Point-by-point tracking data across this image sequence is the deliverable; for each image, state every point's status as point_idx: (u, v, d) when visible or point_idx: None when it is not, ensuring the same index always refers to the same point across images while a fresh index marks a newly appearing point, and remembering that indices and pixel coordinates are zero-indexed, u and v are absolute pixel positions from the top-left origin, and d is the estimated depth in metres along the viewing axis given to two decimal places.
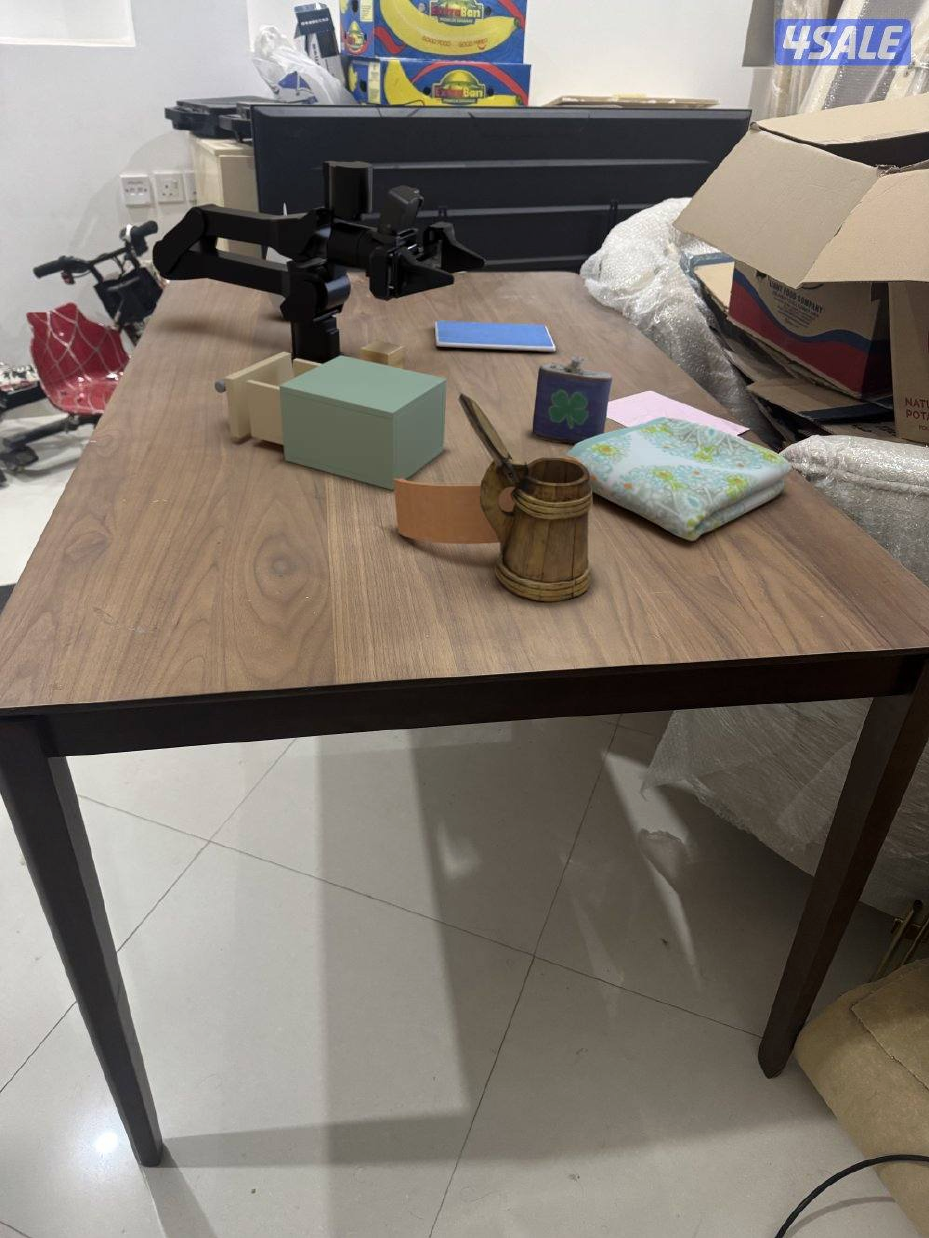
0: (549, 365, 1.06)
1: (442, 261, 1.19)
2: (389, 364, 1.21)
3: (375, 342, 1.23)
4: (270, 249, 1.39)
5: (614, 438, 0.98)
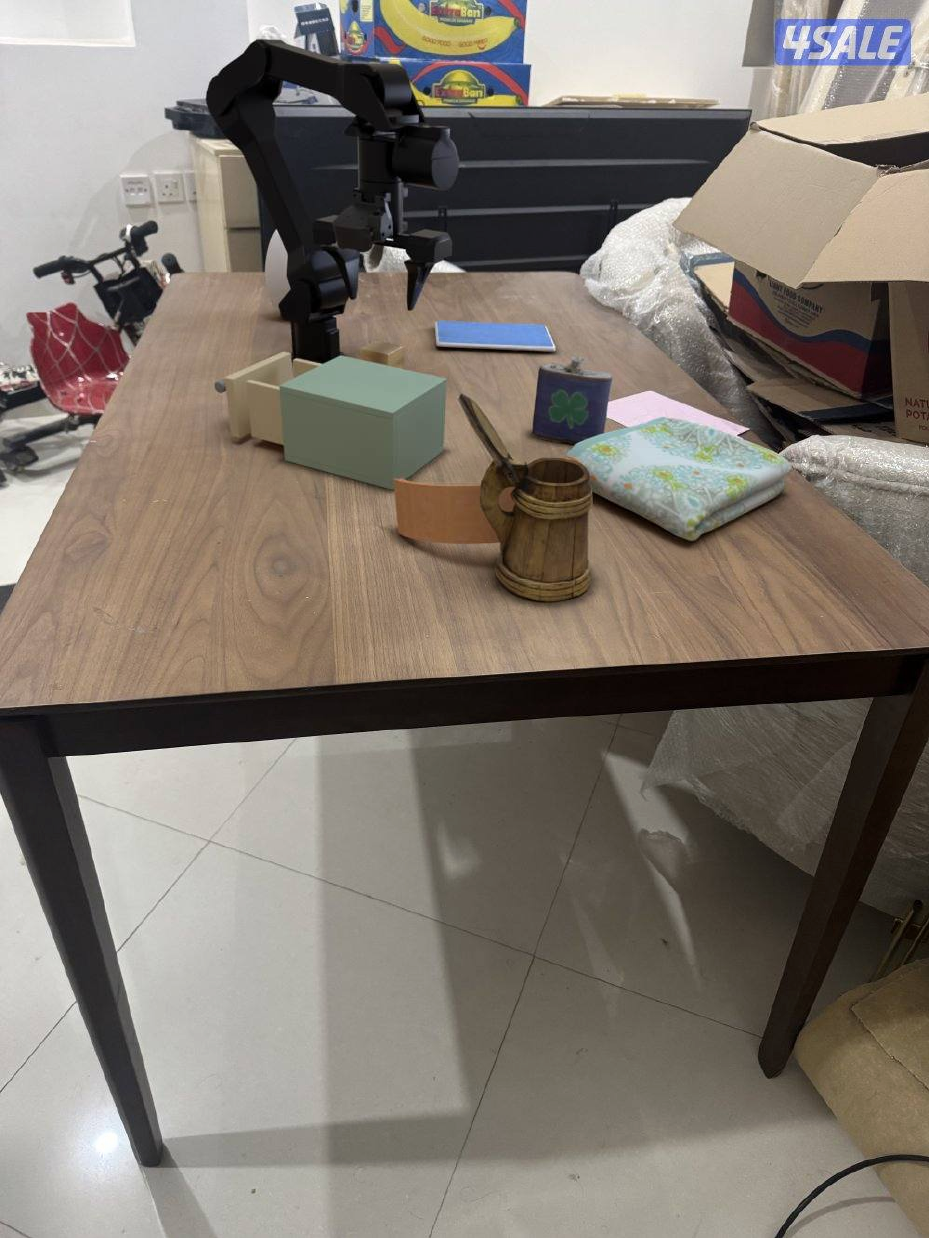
0: (549, 365, 1.06)
1: None
2: (389, 364, 1.21)
3: (375, 342, 1.23)
4: (270, 249, 1.39)
5: (614, 438, 0.98)
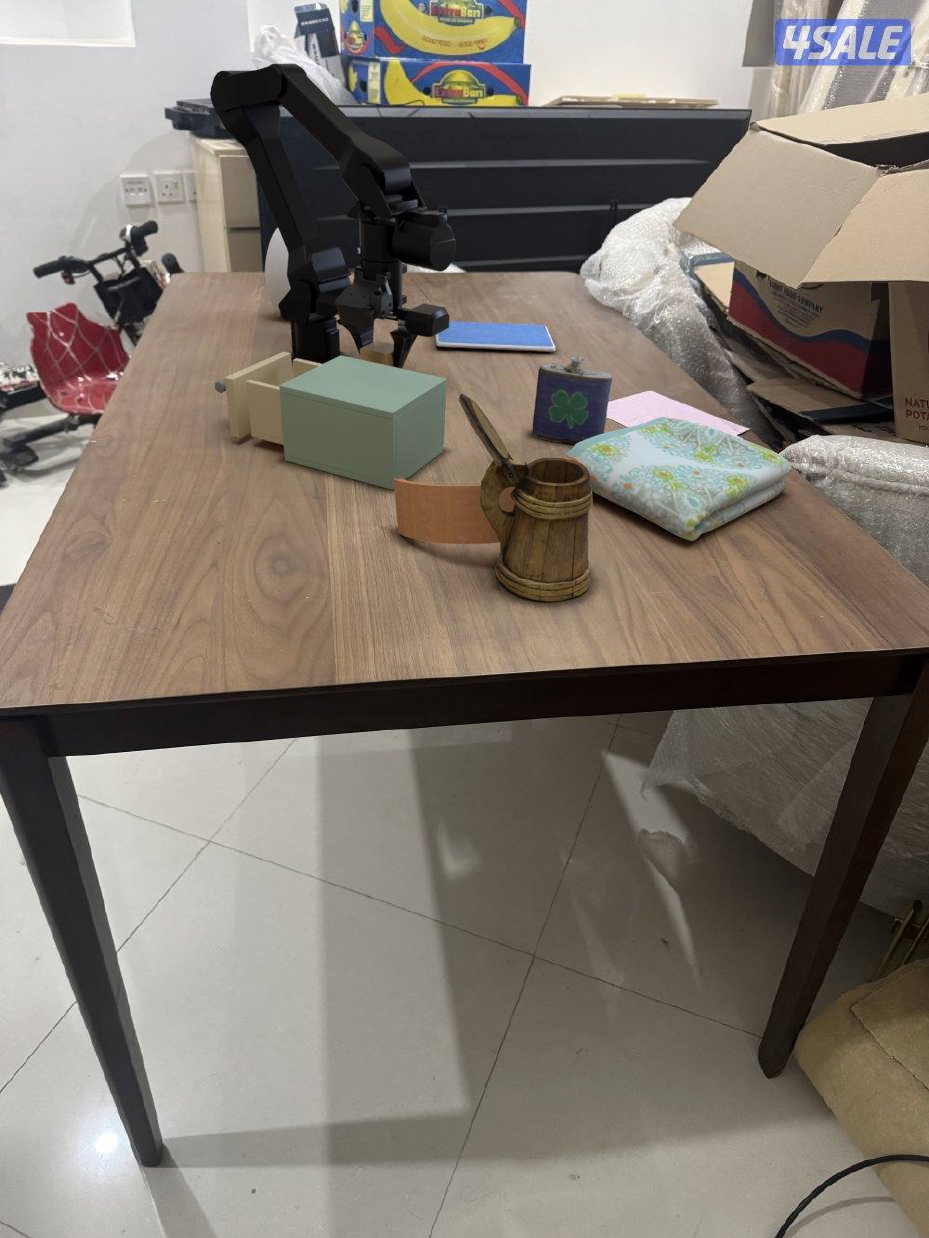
0: (549, 365, 1.06)
1: None
2: (389, 364, 1.21)
3: (375, 342, 1.23)
4: (270, 249, 1.39)
5: (614, 438, 0.98)
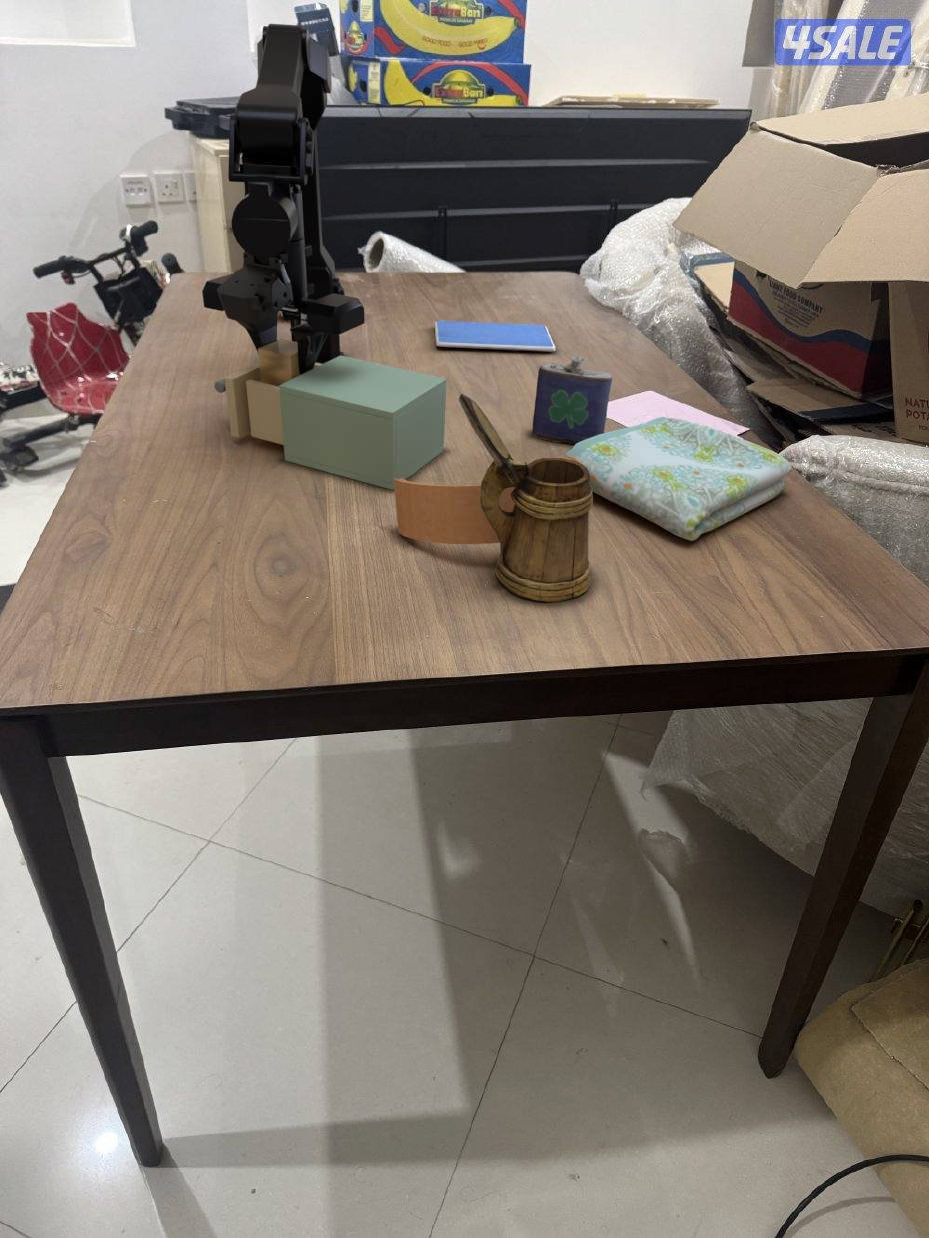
0: (549, 365, 1.06)
1: None
2: (293, 368, 0.99)
3: (279, 341, 1.01)
4: None
5: (614, 438, 0.98)
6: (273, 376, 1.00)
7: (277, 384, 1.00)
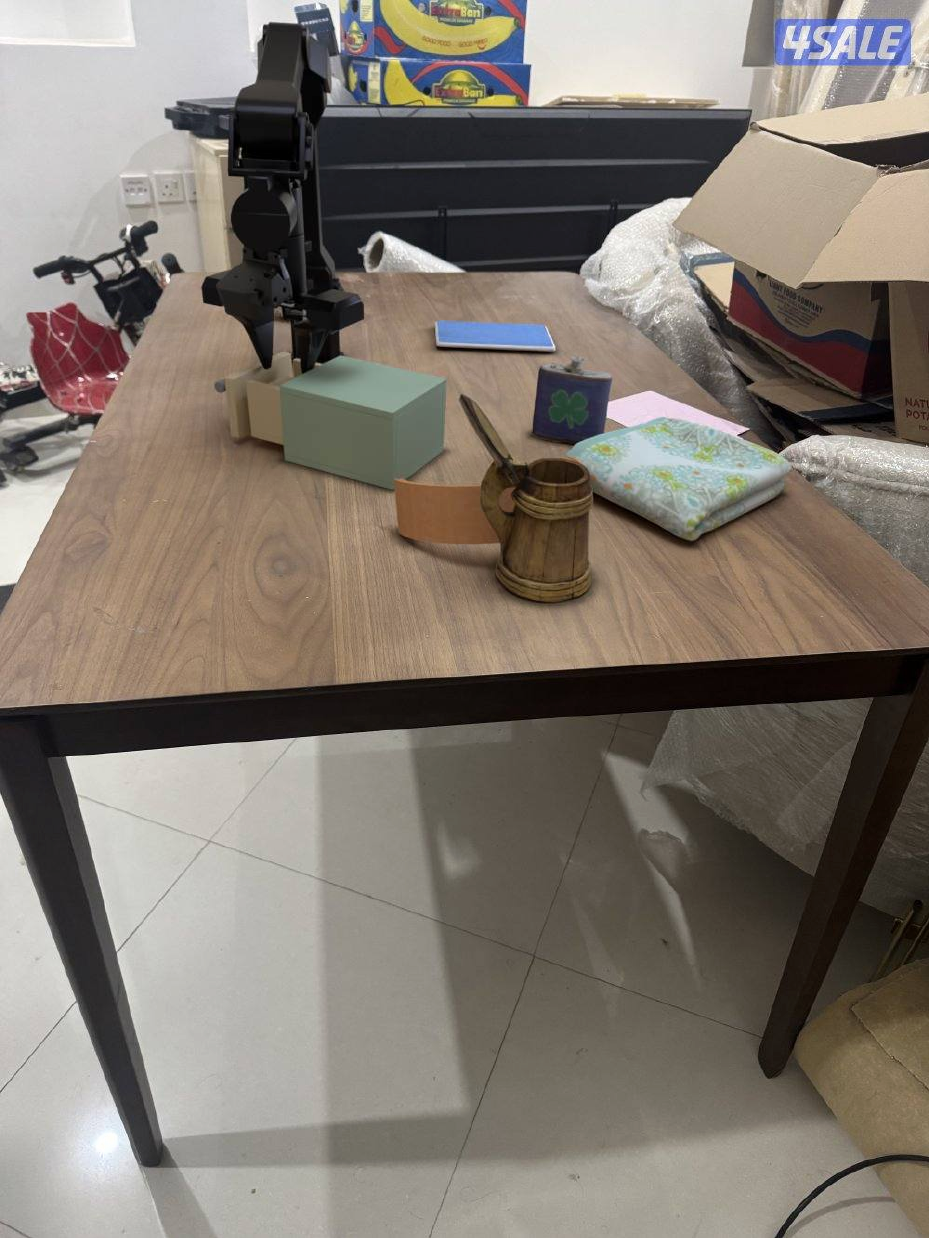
0: (549, 365, 1.06)
1: None
2: None
3: (281, 378, 1.04)
4: None
5: (614, 438, 0.98)
6: None
7: None
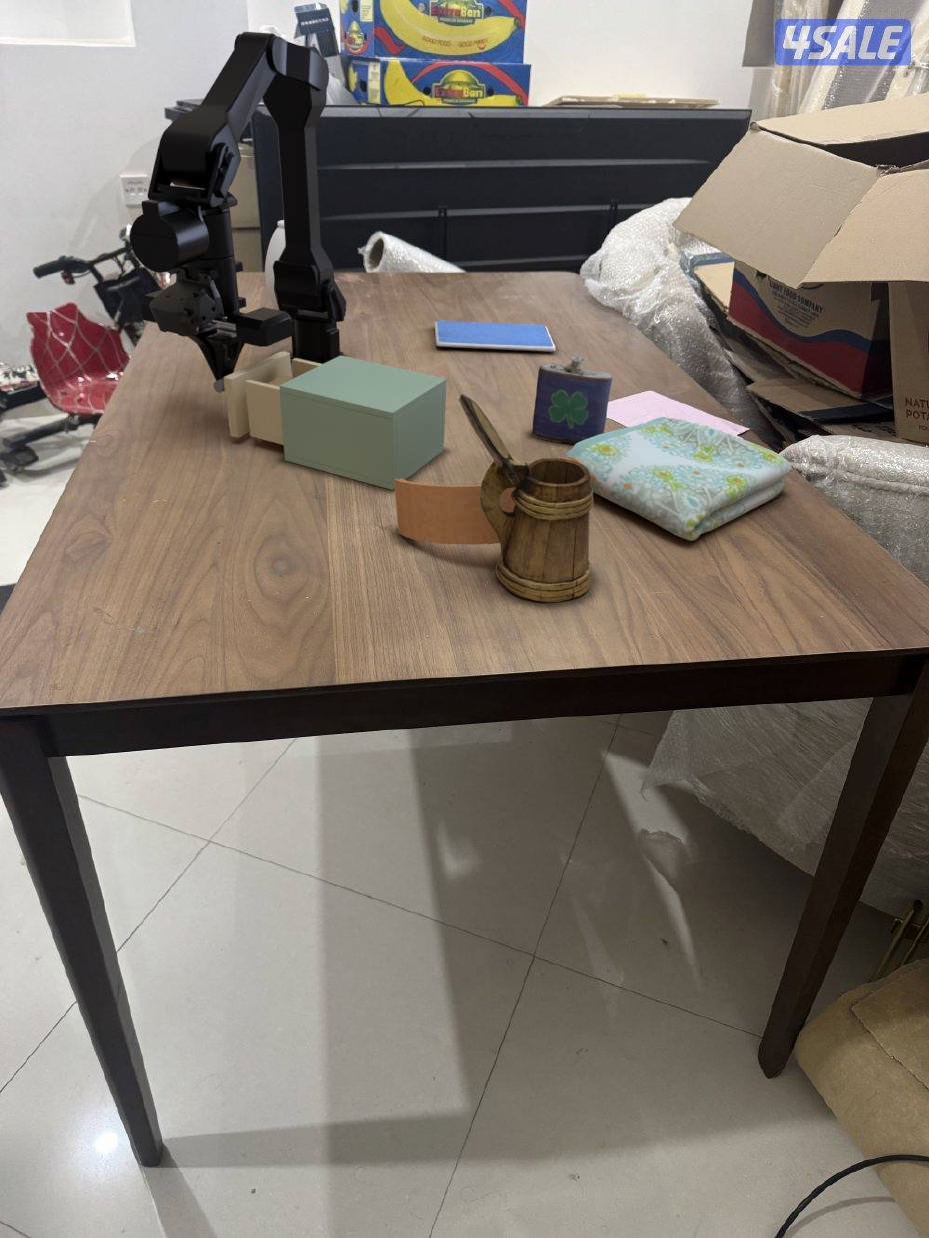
0: (549, 365, 1.06)
1: None
2: None
3: (280, 378, 1.04)
4: (270, 249, 1.39)
5: (614, 438, 0.98)
6: None
7: None
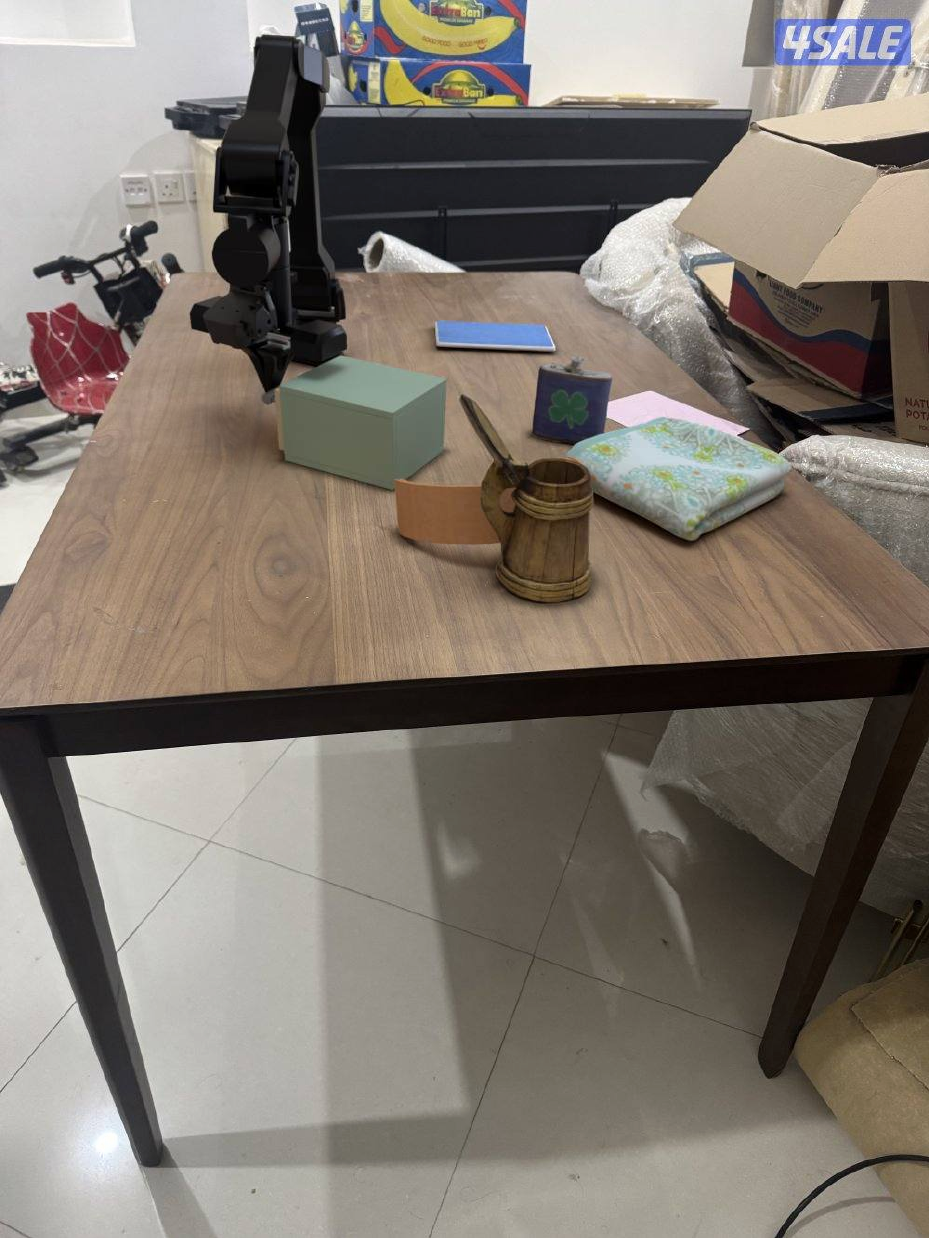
0: (549, 365, 1.06)
1: None
2: None
3: None
4: None
5: (614, 438, 0.98)
6: None
7: None
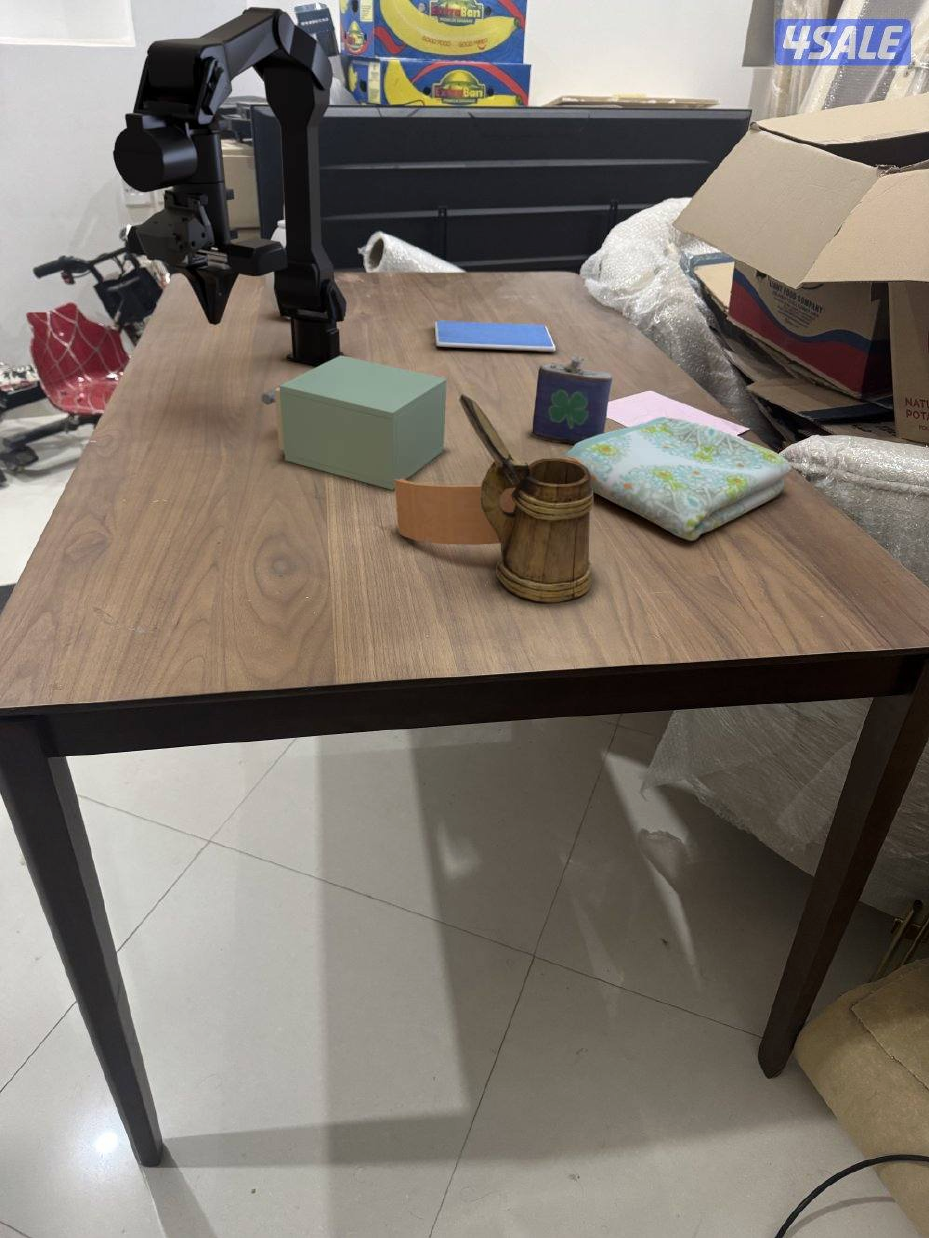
0: (549, 365, 1.06)
1: None
2: None
3: None
4: None
5: (614, 438, 0.98)
6: None
7: None
